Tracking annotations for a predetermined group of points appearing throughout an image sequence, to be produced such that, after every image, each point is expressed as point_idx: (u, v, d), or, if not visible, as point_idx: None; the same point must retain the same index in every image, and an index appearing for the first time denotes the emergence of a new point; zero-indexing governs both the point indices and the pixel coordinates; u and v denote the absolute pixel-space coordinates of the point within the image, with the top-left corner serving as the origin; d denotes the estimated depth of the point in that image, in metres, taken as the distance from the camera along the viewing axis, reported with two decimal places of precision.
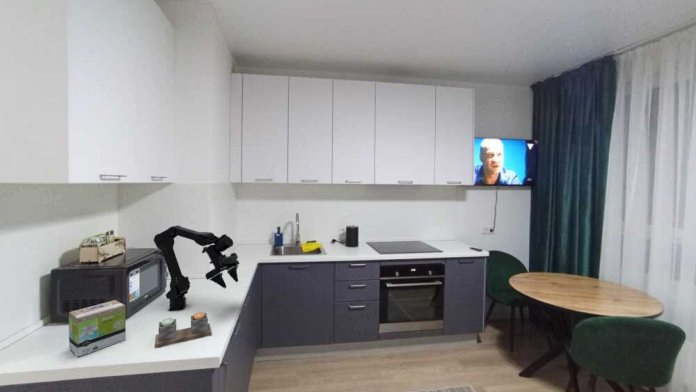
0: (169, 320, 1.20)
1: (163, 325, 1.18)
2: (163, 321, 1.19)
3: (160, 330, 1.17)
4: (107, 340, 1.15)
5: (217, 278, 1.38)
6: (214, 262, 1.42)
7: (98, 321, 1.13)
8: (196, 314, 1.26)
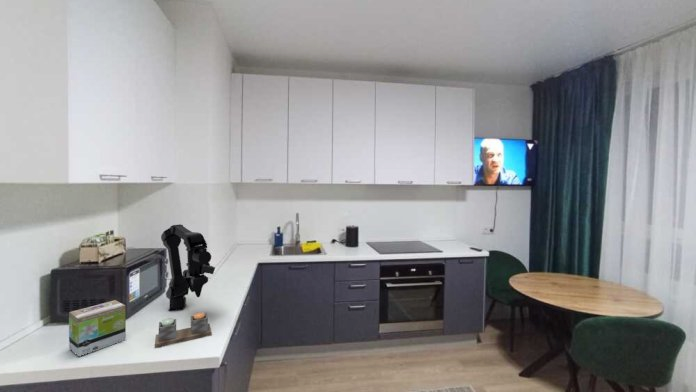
0: (169, 320, 1.20)
1: (163, 325, 1.18)
2: (163, 321, 1.19)
3: (160, 330, 1.17)
4: (107, 340, 1.15)
5: (197, 285, 1.33)
6: (195, 267, 1.35)
7: (99, 321, 1.13)
8: (196, 314, 1.26)
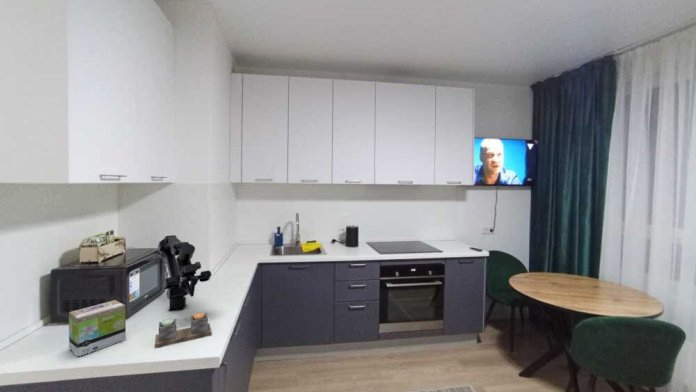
0: (169, 320, 1.20)
1: (163, 325, 1.18)
2: (163, 321, 1.19)
3: (160, 330, 1.17)
4: (107, 340, 1.15)
5: None
6: (179, 272, 1.37)
7: (98, 321, 1.13)
8: (196, 314, 1.26)
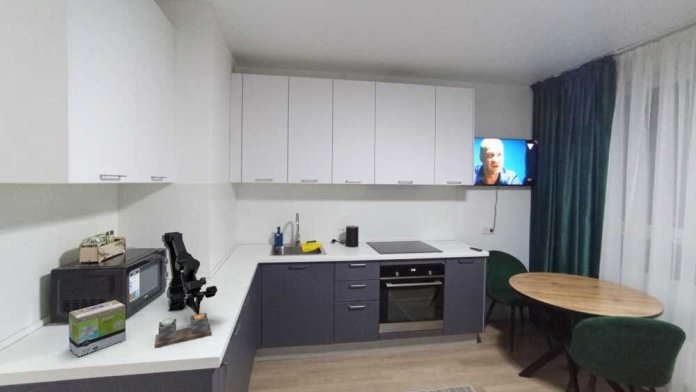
0: (169, 320, 1.20)
1: (163, 325, 1.18)
2: (163, 321, 1.19)
3: (160, 330, 1.17)
4: (107, 340, 1.15)
5: None
6: (184, 288, 1.32)
7: (98, 321, 1.13)
8: (196, 315, 1.26)
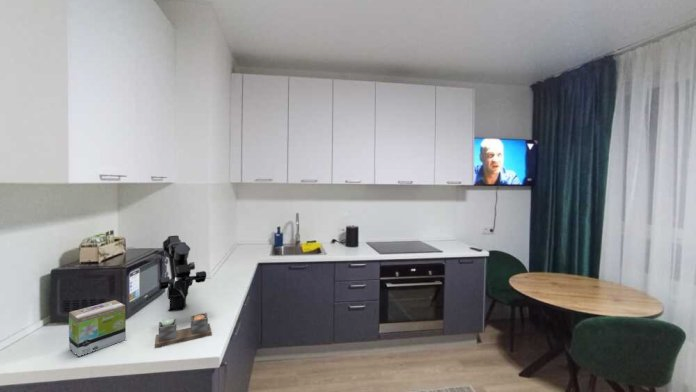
0: (169, 320, 1.20)
1: (163, 325, 1.18)
2: (163, 321, 1.19)
3: (160, 330, 1.17)
4: (107, 340, 1.15)
5: None
6: None
7: (98, 321, 1.13)
8: (196, 317, 1.26)
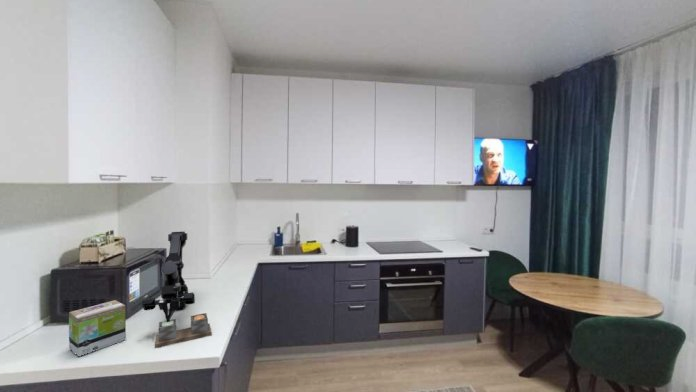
0: (169, 322, 1.21)
1: None
2: (163, 323, 1.19)
3: (160, 330, 1.17)
4: (107, 340, 1.15)
5: None
6: None
7: (98, 321, 1.13)
8: (196, 317, 1.26)
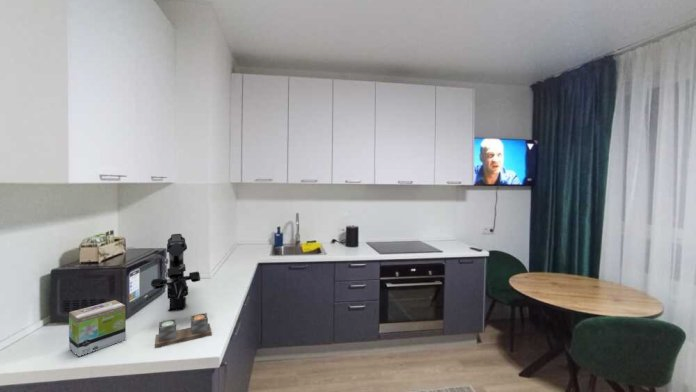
0: (169, 323, 1.21)
1: None
2: (163, 324, 1.19)
3: (160, 330, 1.17)
4: (107, 340, 1.15)
5: None
6: None
7: (99, 321, 1.13)
8: (196, 317, 1.26)
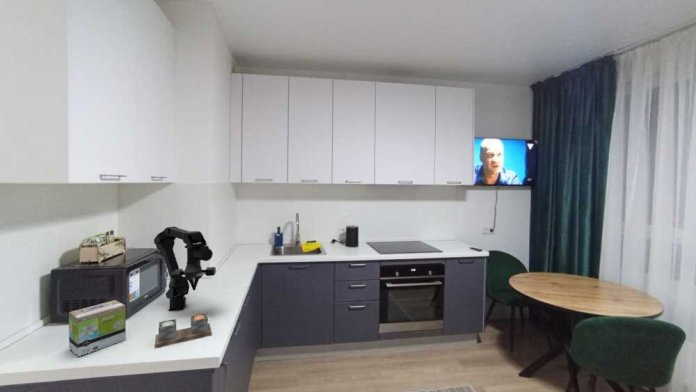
0: (169, 323, 1.21)
1: None
2: (163, 324, 1.19)
3: (160, 330, 1.17)
4: (107, 340, 1.15)
5: (191, 278, 1.43)
6: None
7: (98, 321, 1.13)
8: (196, 317, 1.26)
